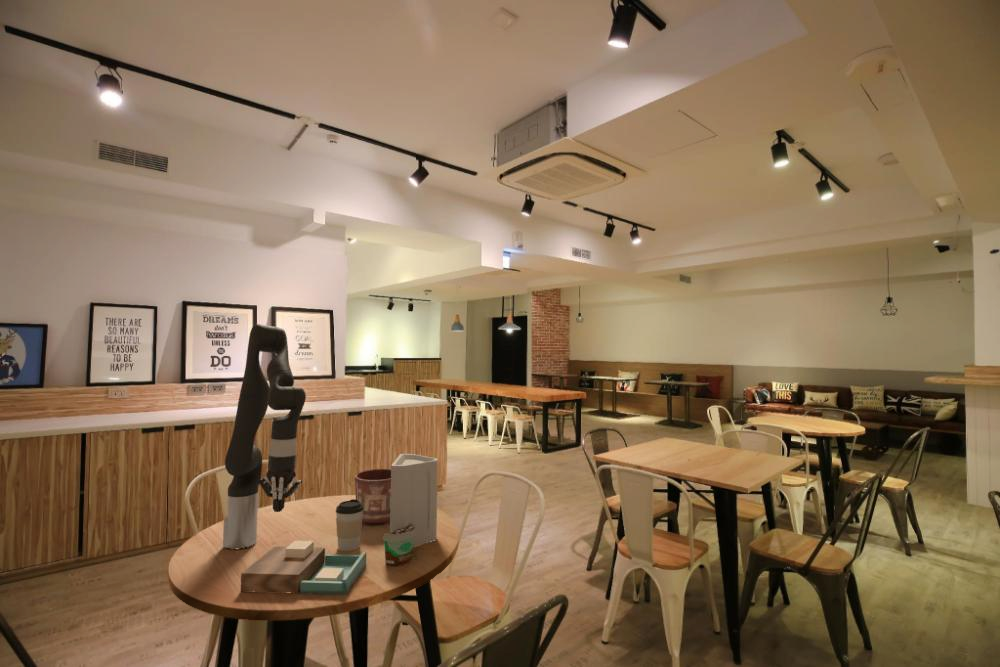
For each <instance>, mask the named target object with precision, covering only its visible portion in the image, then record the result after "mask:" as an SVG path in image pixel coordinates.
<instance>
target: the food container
mask: <svg viewBox="0 0 1000 667" xmlns="http://www.w3.org/2000/svg"><path fill="white" fill-rule="evenodd" d="M415 535H416V528H415V526H414V524H412V523H409V526H407V527H404V528H401V529H397V530H395V531H394V532H392V533H391V534H390V533H383V537H382V541H383V542H384V559H385V565H386V566H388V567H400V566H399V565H401V566H404V564H405V565H407V564H409V563H411V561H413V560H412V558H413V550H414V549H413V548H414V547H413V541H414V536H415ZM389 565H390V566H389Z"/></svg>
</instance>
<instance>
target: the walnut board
mask: <svg viewBox="0 0 1000 667" xmlns="http://www.w3.org/2000/svg"><path fill="white" fill-rule="evenodd" d="M287 547H288V546H276V545H274V546H273V547H272V548H270V549H269V550H268V551H267V552H266V553H264V554H263V555H262V556H261V557H259V558H258V559H257V560H256V561H254V562H253V563H252V564H251V565H250V566H248V567H246V569H244V570H243V571H242V572H241V574H240V575H241V576H240V592H241V591H255V592H254V593H264V592H285V593H284V594H287V593H286V592H291V593H290V594H300V582H301V581H309V580H310V579H311V578H312V577H313V576H314V575H315V573H316V572H317V571H318V570H319V569H320V568H321V567H322V566H323V565H324V563H325V555H326V547H315V546H314V549H313V550H312V551H311V552H310V553H309V554H308V555H307V556H306V557H305V558H291V557H285V549H286V548H287Z"/></svg>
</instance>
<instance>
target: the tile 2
mask: <svg viewBox="0 0 1000 667" xmlns="http://www.w3.org/2000/svg"><path fill="white" fill-rule="evenodd" d="M343 577H344V568H323V569H322V570H321V571H320V572H319V573H318V575H317V576H316V577H315V581H341V580H342V579H343Z"/></svg>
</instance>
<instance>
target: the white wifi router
mask: <svg viewBox="0 0 1000 667" xmlns="http://www.w3.org/2000/svg"><path fill="white" fill-rule="evenodd" d="M390 467H391V468H390V469H391V502H390V522H389V534H391V533H392V532H394V531H395V530H397V529H401V528H404V527H407V526H409V523H412V524H414V526H415V528H416V535H415V536H414V541H413V548H416V547H415V546H417V547H419V546H418V545H420V546H422V545H421V544H424V543H427V542H430V541H433V540H437V528H438V527H437V526H438V525H437V524H438V523H437V522H438V520H437V518H438V516H437V515H438V478H439V477H438V473H439V459H438V458H436V457H430V456H426V455H420V454H414V453H401V454H399V455H398V456H397V458H396V459H395V460H394V461H393V462H392V464H391V466H390ZM430 543H431V542H430ZM427 544H428V543H427ZM424 545H425V544H424Z"/></svg>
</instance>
